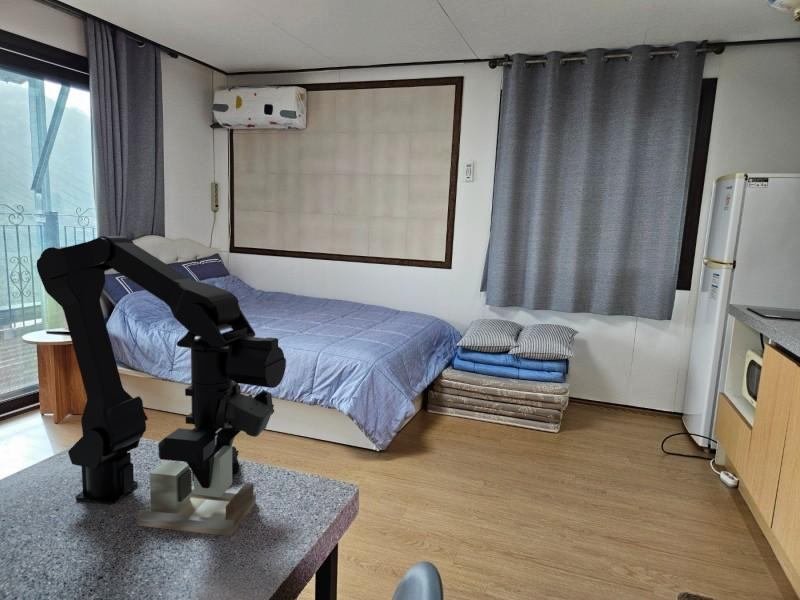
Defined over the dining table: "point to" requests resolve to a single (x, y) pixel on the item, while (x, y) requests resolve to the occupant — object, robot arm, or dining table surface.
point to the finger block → (217, 474)
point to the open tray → (193, 503)
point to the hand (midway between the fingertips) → (213, 480)
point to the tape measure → (234, 461)
